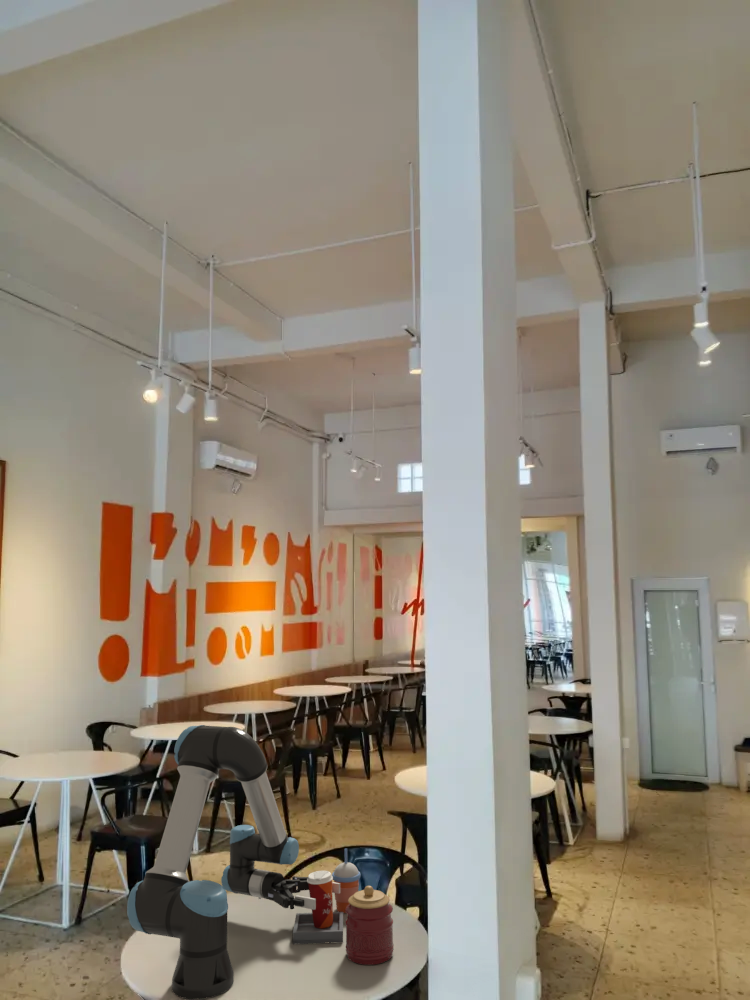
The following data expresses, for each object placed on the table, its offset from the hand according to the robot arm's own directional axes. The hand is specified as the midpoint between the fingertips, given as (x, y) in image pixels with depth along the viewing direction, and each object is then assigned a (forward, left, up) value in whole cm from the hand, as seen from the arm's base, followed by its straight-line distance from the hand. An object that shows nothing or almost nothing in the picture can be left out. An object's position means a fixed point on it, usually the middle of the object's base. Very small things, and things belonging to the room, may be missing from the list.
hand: (327, 896), depth 223 cm
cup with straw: (+5, +19, -11) cm, 22 cm away
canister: (+12, -14, -11) cm, 21 cm away
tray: (-3, +2, -10) cm, 11 cm away
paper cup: (-1, +4, -9) cm, 11 cm away
